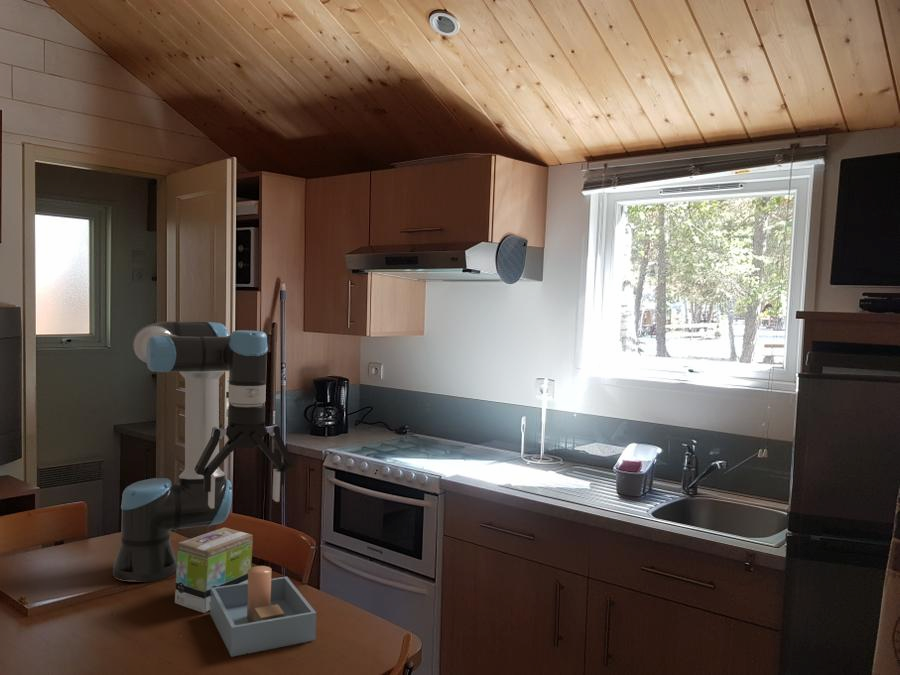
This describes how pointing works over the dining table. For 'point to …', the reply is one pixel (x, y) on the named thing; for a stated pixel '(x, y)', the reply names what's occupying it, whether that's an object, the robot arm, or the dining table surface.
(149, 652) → the dining table surface
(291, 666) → the dining table surface
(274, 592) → the tote
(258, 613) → the block
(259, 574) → the peach orange cylinder
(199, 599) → the tea box
